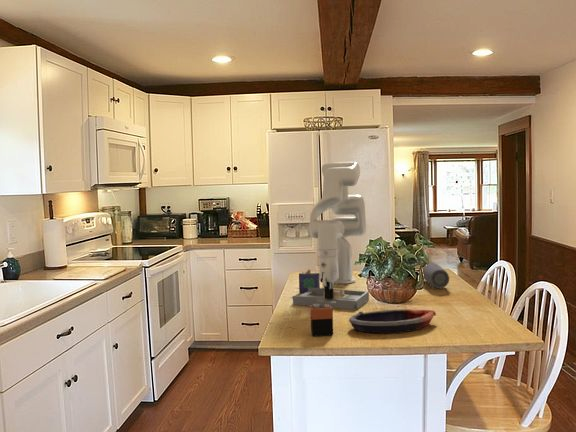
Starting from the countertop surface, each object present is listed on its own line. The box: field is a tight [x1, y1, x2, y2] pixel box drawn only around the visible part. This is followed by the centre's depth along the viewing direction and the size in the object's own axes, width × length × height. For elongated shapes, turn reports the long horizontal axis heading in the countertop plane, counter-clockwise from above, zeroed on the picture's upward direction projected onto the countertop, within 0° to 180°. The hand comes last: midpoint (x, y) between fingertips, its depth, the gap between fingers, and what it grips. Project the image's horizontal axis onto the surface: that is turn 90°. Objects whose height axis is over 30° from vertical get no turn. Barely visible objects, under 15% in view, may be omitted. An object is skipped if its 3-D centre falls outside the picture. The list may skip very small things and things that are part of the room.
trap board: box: [292, 287, 370, 311], centre depth 207 cm, size 16×27×4 cm, turn 64°
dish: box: [348, 308, 437, 334], centre depth 171 cm, size 16×31×5 cm, turn 99°
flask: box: [298, 269, 321, 295], centre depth 225 cm, size 9×3×11 cm, turn 88°
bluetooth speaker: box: [423, 260, 450, 289], centre depth 231 cm, size 23×9×10 cm, turn 178°
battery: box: [309, 304, 334, 337], centre depth 165 cm, size 4×7×10 cm, turn 95°
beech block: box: [324, 287, 345, 299], centre depth 208 cm, size 6×6×3 cm
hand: (329, 298), depth 203 cm, fingers closed
